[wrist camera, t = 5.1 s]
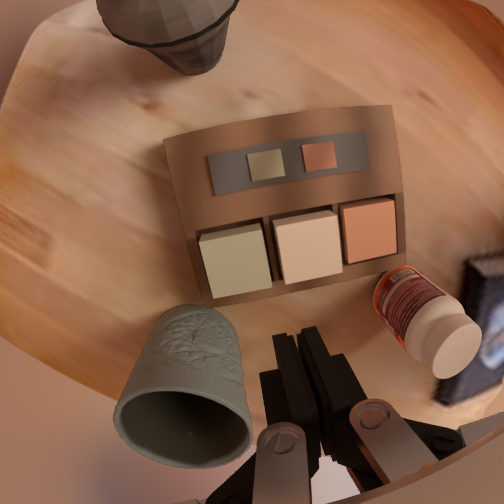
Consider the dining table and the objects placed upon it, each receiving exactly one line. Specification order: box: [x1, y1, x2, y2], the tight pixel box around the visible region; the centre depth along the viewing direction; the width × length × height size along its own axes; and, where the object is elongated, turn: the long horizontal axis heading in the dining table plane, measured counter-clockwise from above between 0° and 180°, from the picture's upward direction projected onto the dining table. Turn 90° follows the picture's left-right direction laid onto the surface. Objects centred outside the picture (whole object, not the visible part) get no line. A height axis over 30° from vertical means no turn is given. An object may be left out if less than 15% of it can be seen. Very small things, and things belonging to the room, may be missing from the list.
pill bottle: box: [373, 265, 482, 379], centre depth 24 cm, size 6×6×11 cm
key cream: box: [272, 210, 343, 284], centre depth 23 cm, size 4×4×2 cm
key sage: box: [199, 223, 272, 299], centre depth 23 cm, size 4×4×2 cm
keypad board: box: [163, 105, 406, 309], centre depth 24 cm, size 18×14×3 cm
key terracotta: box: [337, 197, 397, 263], centre depth 24 cm, size 4×4×2 cm
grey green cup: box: [113, 304, 253, 469], centre depth 24 cm, size 10×10×12 cm
